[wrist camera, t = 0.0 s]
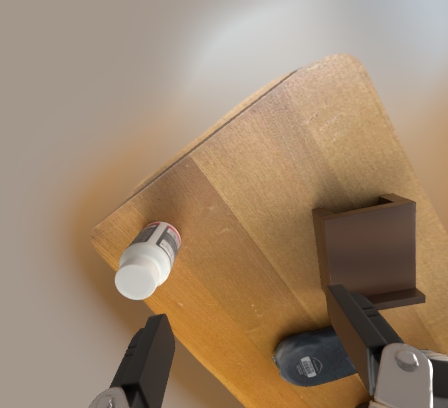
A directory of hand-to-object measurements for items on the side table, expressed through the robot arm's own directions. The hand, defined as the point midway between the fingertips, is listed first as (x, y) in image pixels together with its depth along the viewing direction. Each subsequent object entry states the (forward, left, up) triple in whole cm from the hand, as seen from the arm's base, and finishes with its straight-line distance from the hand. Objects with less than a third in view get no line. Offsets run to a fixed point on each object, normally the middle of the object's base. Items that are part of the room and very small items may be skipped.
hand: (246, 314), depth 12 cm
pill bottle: (+3, -11, -20) cm, 23 cm away
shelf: (+9, +14, -20) cm, 26 cm away
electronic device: (+25, +8, -20) cm, 33 cm away
